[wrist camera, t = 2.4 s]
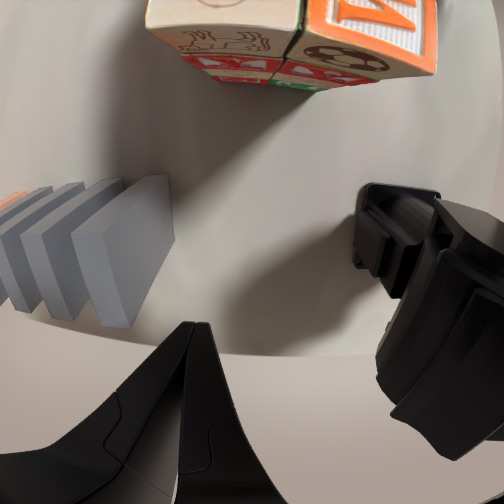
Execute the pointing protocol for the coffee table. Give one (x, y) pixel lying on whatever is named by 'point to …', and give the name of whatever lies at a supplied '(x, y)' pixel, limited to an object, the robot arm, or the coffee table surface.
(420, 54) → the stack of blocks
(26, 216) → the domino
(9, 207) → the domino
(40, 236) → the domino
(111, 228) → the domino
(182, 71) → the coffee table surface
